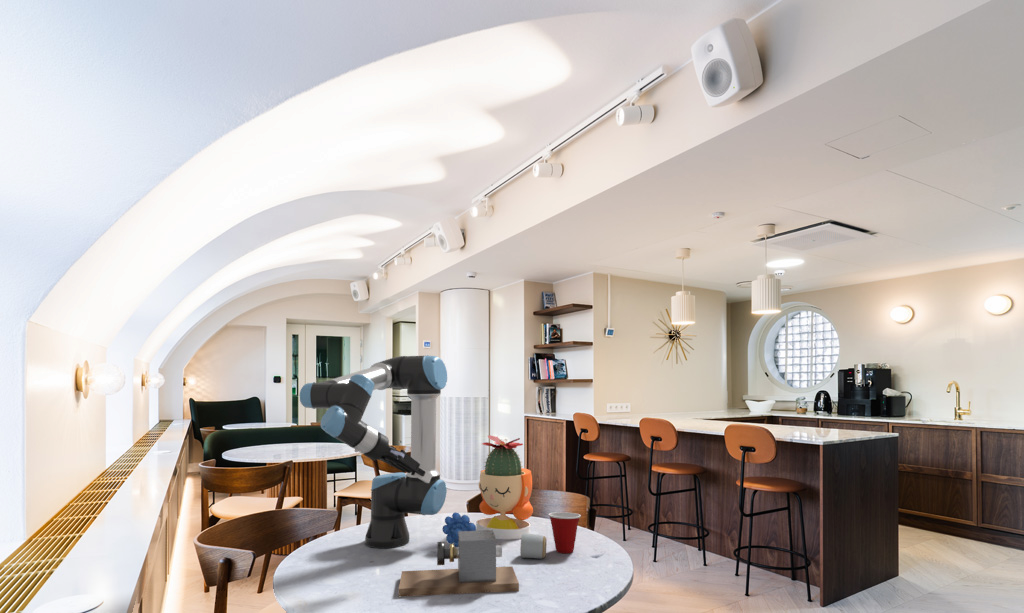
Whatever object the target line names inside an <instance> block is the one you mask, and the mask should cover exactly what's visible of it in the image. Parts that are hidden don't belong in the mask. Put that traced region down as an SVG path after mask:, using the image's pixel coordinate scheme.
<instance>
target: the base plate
mask: <svg viewBox="0 0 1024 613" xmlns="http://www.w3.org/2000/svg"><path fill="white" fill-rule="evenodd" d="M399 581H400V582H399V586H398V597H399V598H400V597H419V596H420V597H421V596H422V597H423V596H438V595H439V596H440V595H442V596H444V595H445V596H446V595H460V594H461V595H462V594H482V593H483V594H484V593H502V592H503V593H504V592H519V591H520V583H519V580H518V577H517V574H516V572H515V569H514V568H513V566H496V582H477V583H459V576H458V568H448V569H446V568H445V569H442V568H441V569H425V570H424V569H423V570H418V569H417V570H402V571H401V574H400V580H399Z"/></svg>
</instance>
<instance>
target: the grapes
mask: <svg viewBox="0 0 1024 613" xmlns="http://www.w3.org/2000/svg"><path fill="white" fill-rule="evenodd" d="M470 520H471V519H470V517H469V516H468V515H467V514H463V515H462V516H461V514H460V512H456V511H455V512H453V513H452V515H451V516H449V515H448V516H446V517H445V518H444V523H445V524H444V525H443V526H442V533H444V535H446V537H445V540H446V542H447V543H448V544H449V545H450V544H454V547H458V531H476V524H475V523H474V522H471V521H470Z"/></svg>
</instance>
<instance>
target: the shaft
mask: <svg viewBox="0 0 1024 613" xmlns="http://www.w3.org/2000/svg"><path fill="white" fill-rule="evenodd" d="M445 544H446V543H445V541H437V546H436V548H437V552H436V554H437V556H436V557H437V559H436V564H437V565H436V566H445V562H446V560H449V561H448V562H449V563H455V560H456V559H457V560H458V559H459V547H455V546H454V543H453V544H449V547H446V545H445ZM500 557H501V558H502V557H503V548H502V545H501V544H500V545H499V544H496V558H500Z"/></svg>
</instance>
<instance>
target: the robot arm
mask: <svg viewBox="0 0 1024 613" xmlns="http://www.w3.org/2000/svg"><path fill="white" fill-rule="evenodd" d="M447 382H448V370H447V367H446V363H444V361H443V360H442V359H441V357H439V356H436V355H428V354H427V355H401V356H394V357H392V358H388V359H386V360H385V359H384V360H382V361H378V362H376V363H373V364H372V365H371V366H370V367H369V368H366V369H362V370H358V371H356V372H352V373H349V374H345V375H342V376H338V377H335V378H332V379H330V380H329V379H328V380H326V381H321V382H316V381H314V382H307V383H305V384H304V385H302V387H301V388H300V390H299V401H300V402H299V403H300V405H302V407H304V408H308V409H313V410H314V409H325V410H326V409H327V410H326V411H325V413H324V414H323V415H322V418H321V420H320V428H321V429H322V430H323V431H324V432H325V433H326V434H328V435H329V436H331V437H332V438H334V439H336V440H338V441H340V442H342V443H344V444H345V445H347V446H348V447H351V448H352V449H354V452H355V453H360V454H362V455H363V456H365V457H366V458H368V459H369V460H372V461H381V462H383V463H385V464H387V465H389V466H391V467H393V468H394V469H397V470H399V471H401V472H391V473H385V474H381V475H377V476H375V477H373V478H372V481H371V489H370V491H371V492H370V493H371V495H370V496H371V499H370V500H371V501H370V504H371V505H370V521H369V523H368V524H369V525H368V527H367V531H366V533H365V538H364V545H366V546H367V547H370V548H376V549H390V548H396V547H402V546H404V545H406V544H409V542H410V531H409V528H408V526H407V521H406V518H405V515H406V514H410V515H411V514H414V515H422V516H434V515H436V514H438V513H439V512H440V511H441V509H442V508H443V506H444V504H445V501H446V497H447V491H448V490H447V484H446V482H445V480H443V479H441V473H440V471H439V470H438V469H437V468H436V467H437V464H436V462H437V399H438V398H439V396H441V393H442V392H441V390H443V389H445V388H446V386H447ZM388 389H402V390H407V391H406V393H407V394H406V395H407V396H408V397H409V398H410V399H411V400H410V401H411V403H410V404H411V406H410V411H411V415H410V416H411V418H410V419H411V420H410V424H411V425H410V455H409V454H408V453H407V452H406V451H405V450H404V449H400V450H399V449H397V448H396V447H394V446H392V445H390V444H389V442H390V440H389V437H387V435H385V434H382V433H381V432H379V431H378V430H377V429H375V428H374V427H372V426H370V425H369V424H367V423H366V422H364V421H363V420H362V419H363V416H364V414H365V411H366V409H367V407H368V404H369V403H370V400H371V399H372V394H373V391H375V390H379V391H383V390H388Z"/></svg>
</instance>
